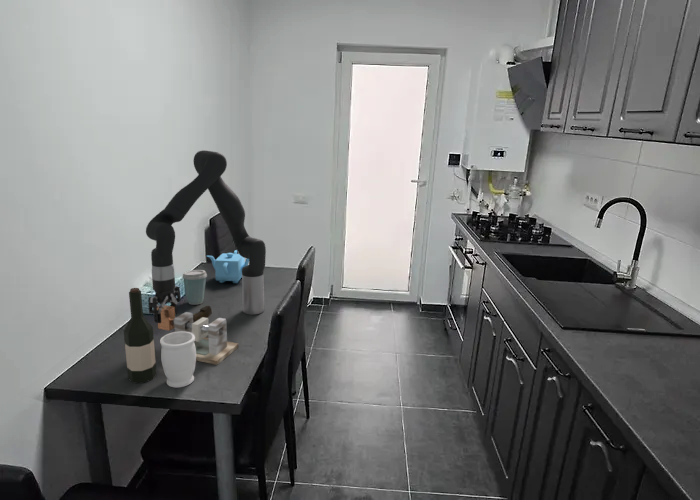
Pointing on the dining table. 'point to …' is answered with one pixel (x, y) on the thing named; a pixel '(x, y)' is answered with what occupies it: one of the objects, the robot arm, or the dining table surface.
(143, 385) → the dining table surface
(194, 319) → the hand tool
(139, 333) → the wine bottle
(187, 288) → the disposable coffee cup
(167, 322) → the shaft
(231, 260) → the teakettle
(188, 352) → the jar
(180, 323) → the bearing stand
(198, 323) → the spacer collar
